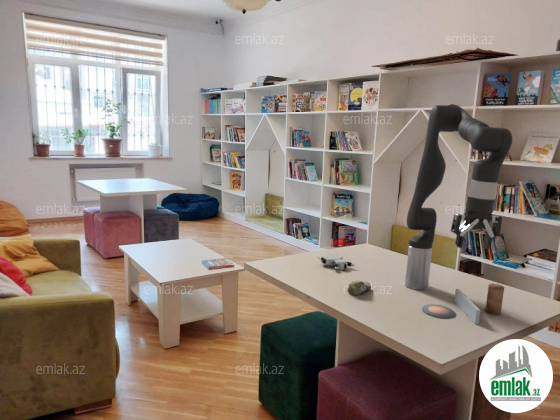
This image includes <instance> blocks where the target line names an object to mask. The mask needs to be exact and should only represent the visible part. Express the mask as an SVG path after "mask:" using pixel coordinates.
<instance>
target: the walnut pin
mask: <svg viewBox="0 0 560 420" xmlns="http://www.w3.org/2000/svg"><path fill="white" fill-rule="evenodd" d="M504 293H505V286H503V285H502V284H499V283H498V284H497V283H489V284H488V288H487V295H486V303H485V309H484V311H485V313H486V314H489V315H491V316H501V313H502V308H503V307H502V306H503V300H504Z"/></svg>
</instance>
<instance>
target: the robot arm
mask: <svg viewBox="0 0 560 420" xmlns="http://www.w3.org/2000/svg"><path fill="white" fill-rule="evenodd" d="M428 117H429V118H428V123H427V128H426V135H425V136H426V137H425V142H424V148H423V153H422V156H421V160H420V164H419V169H418V173H417V178H416V184H415V188H414V190H413V196H412V198H411V202H410V205H409V207H408V211H407V215H406V226H407V228H408V229H410V230H412V231H422V232H421V233H419V234H417V235H415V236H411V237H410V238H409V240H408V249H407V250H408V251H407V258H406V259H407V260H406V272H405V283H404V285H405V287H408V288H410V289H413V290H419V291H420V290H423V291H424V290H428V289H429V285H430V283H429V282H430V274H431V263H432V254H433V252H432V251H433V244H434V241H435V240H434V239H435V234H436V233H435V232H436V227H437V218H438V216H437V212H436V209H434V208H432V207H423V204H424V203H425V202H426V200H427V199H428V198H429V197H430V196H431V195H432V194H433V193H434V192H435V191H436V190H437V189H438V188H439V187H440V186H441V184H442V183H443V179H444V175H445V172H446V168H447V165H446V161H445V158H444V156H443V153H442V152H441V151H442V150H441V149H440V146H439V135H440V132H442V133H445V132H446V133H453V132H458V135H459V136H460V137H461V139H462V140H464V141H466V142H468V143H469V144H470V146H471V148H472V149H473V150H475V151H478V152H482V153H483V152H484V153H486V152H487V153H490V154H489V156H488V157H487V158H484V159H479V160H476V161H475V162H474V164H473V169H472V174H471V179H470V184H469V187H468V193H467V198H466V203H465V204H466V205H465V211H464V214H463V213H459V212H458V213H457V212H455V213H454V215H453V218H452V223H451V228H450V232H452V233H453V234H454V235H456V237H455V246H456V247H457V248H458V249H462V248H463V246H464V245H463V244H464V239H465V237H464V236H465V234H466V233H467V232H469V231H471V230H480V231H481V230H482V231H483V232H484V234H485V235H484V239H483V245H482V248H484V249H485V250H489V249H490V248H491V246H492V243H493V242H492V241H493V238H494V237H496V236H497V237H498V236H500V235H501V230H502V229H501V228H502V222H503V221H502V220H503V218H502V216H500V215H498V214H495V215H494V214H493V213H494V209H495V203H496V197H497V194H498V183H499V182H498V181H499V176H500V172H501V171H500V170H501V168H502V165H503V163H504V161H505V159H506V157H507V155H508V153H509V152H510V149H511V148H512V144H513V135H512V132H511V131H510V130H509V129H508V128H505V127H491V126H490V125H488V124H487V123H486V122H484V121H481V120H479V119H477V118H475V117H472V116H471V115H470V114H469V113H468V112H467V111H466V110H465V109H464V108H462V107H461V106H459V105H449V104H445V105H444V104H443V105H442V104H439V105H437V104H436V105H434V106H433V107H432V108H431V110H430V113H429V116H428ZM492 214H493V215H492ZM463 220H464V222H463ZM491 222H492V227H491V226H490V223H491ZM461 223H462V224H461Z"/></svg>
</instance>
